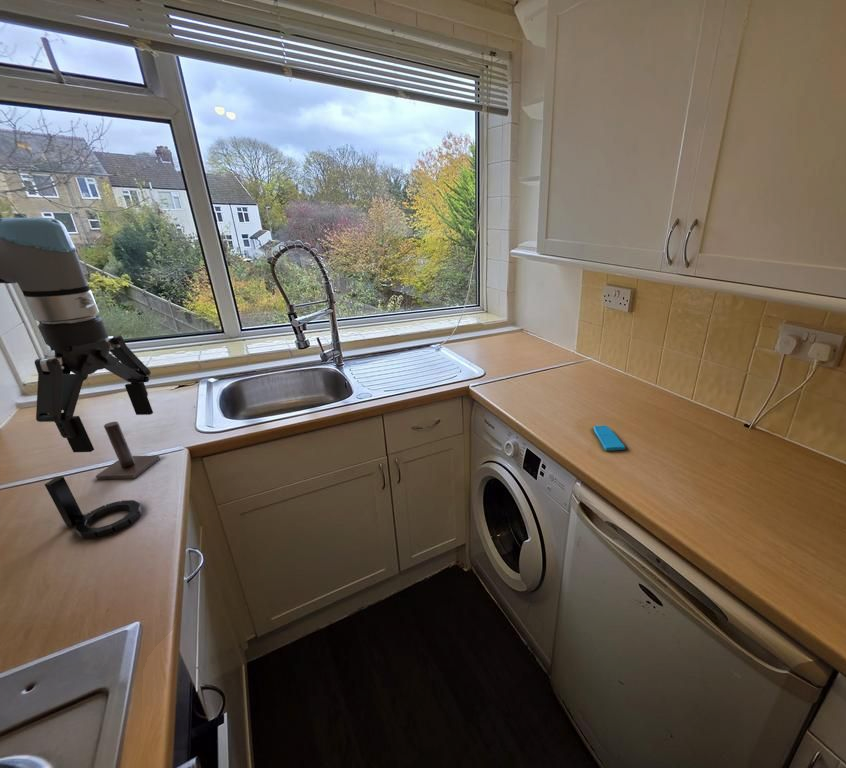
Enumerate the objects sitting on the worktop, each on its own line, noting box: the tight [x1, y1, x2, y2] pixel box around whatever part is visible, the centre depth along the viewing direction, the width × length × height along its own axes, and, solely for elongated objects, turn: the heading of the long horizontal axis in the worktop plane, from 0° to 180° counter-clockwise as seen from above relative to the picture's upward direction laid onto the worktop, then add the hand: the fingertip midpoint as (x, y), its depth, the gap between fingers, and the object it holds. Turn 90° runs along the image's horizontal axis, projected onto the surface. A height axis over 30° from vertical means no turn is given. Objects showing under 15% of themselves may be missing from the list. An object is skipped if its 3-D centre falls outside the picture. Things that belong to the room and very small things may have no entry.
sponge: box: [593, 425, 626, 452], centre depth 112 cm, size 2×12×6 cm
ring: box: [44, 476, 143, 540], centre depth 78 cm, size 12×9×10 cm
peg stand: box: [95, 421, 161, 480], centre depth 93 cm, size 8×8×12 cm
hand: (117, 431), depth 75 cm, fingers open, 13 cm apart
